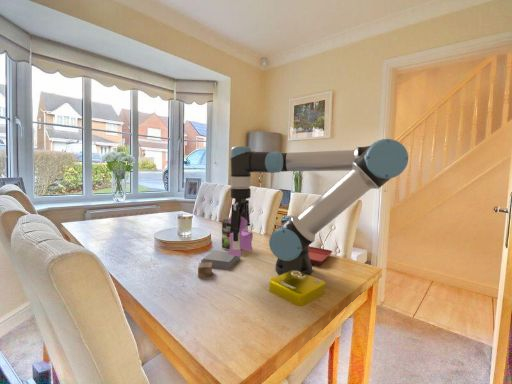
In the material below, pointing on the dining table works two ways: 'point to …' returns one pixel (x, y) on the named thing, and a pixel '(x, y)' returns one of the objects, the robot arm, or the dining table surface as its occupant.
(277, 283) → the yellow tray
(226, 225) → the coffee can
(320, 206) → the robot arm
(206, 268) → the walnut block
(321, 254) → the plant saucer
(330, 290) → the dining table surface
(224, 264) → the plinth
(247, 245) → the chair
